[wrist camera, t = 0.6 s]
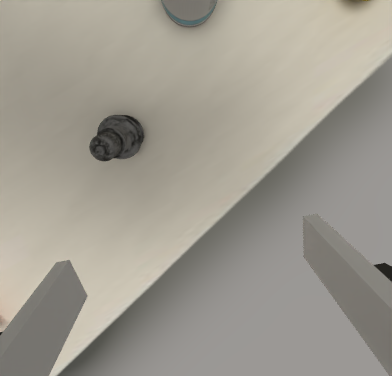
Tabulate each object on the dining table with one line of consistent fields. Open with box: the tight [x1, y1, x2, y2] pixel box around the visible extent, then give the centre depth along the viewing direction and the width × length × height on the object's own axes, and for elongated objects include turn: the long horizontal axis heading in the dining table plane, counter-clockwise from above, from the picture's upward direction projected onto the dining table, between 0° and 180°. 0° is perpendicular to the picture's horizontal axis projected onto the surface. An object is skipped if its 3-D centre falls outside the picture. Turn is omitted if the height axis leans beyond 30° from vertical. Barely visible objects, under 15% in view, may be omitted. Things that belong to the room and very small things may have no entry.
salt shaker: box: [89, 115, 144, 161], centre depth 29 cm, size 6×6×12 cm
